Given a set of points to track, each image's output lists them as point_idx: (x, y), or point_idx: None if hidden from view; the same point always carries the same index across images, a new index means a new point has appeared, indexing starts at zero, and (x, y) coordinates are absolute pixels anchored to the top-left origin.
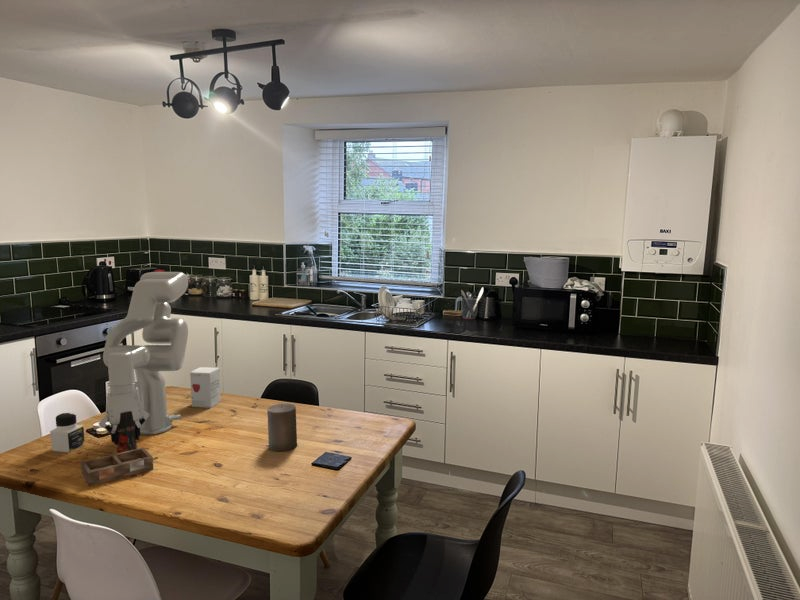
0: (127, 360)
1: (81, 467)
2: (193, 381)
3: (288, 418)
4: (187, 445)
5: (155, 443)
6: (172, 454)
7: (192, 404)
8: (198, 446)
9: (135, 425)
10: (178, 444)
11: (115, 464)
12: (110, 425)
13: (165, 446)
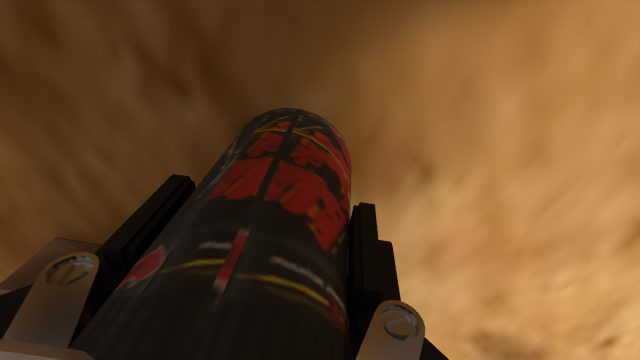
0: None
1: (24, 269)
2: None
3: None
4: (585, 291)
5: (519, 133)
6: (449, 320)
7: None
8: (596, 331)
9: (356, 345)
10: (576, 250)
11: None
12: (12, 322)
13: (511, 224)
